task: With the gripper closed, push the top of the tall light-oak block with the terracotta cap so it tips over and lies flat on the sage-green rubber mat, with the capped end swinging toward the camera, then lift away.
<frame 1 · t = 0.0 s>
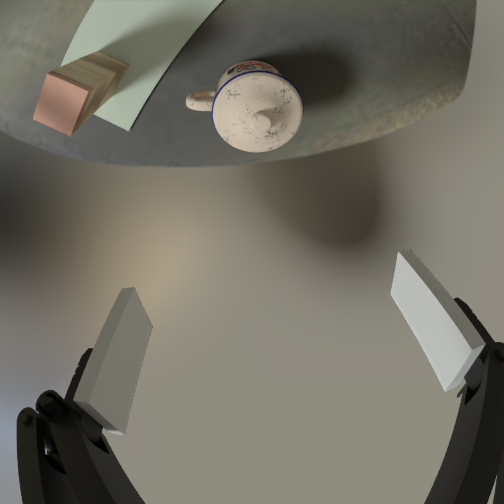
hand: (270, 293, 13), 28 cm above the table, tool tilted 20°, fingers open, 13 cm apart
teacup with lid: (239, 89, 30), on the table
oak block: (105, 73, 25), resting on rubber mat
rubber mat: (133, 27, 21), on the table
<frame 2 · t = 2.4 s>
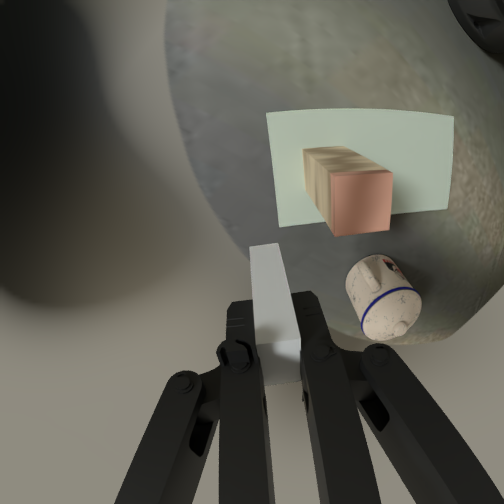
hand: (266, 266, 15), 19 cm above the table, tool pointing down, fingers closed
teacup with lid: (366, 270, 39), on the table
oak block: (324, 167, 30), resting on rubber mat
rubber mat: (376, 163, 31), on the table
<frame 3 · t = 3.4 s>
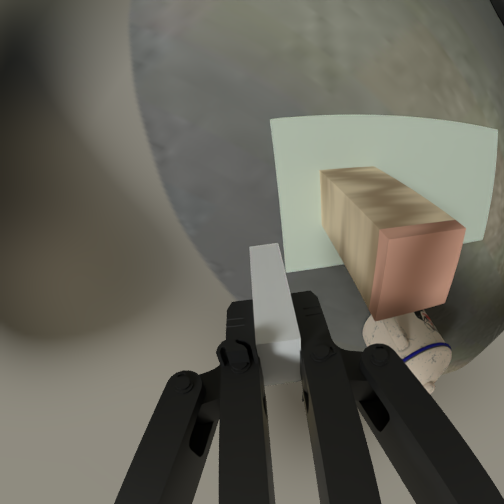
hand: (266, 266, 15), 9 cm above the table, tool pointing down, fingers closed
teacup with lid: (387, 314, 31), on the table
oak block: (348, 195, 22), resting on rubber mat
rubber mat: (411, 189, 23), on the table
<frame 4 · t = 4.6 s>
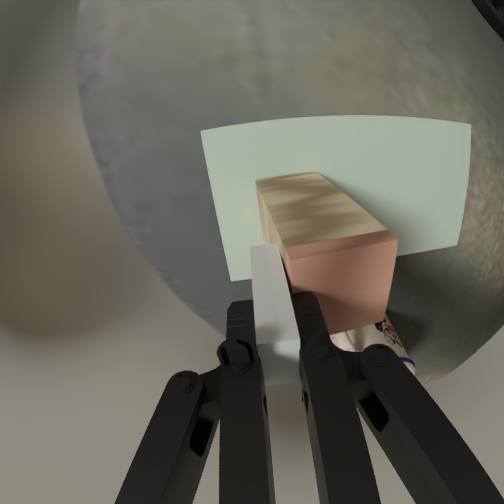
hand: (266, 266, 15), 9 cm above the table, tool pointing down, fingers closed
teacup with lid: (349, 323, 31), on the table
oak block: (288, 204, 22), point 1 cm above the table, touching gripper, rubber mat
rubber mat: (364, 193, 23), on the table
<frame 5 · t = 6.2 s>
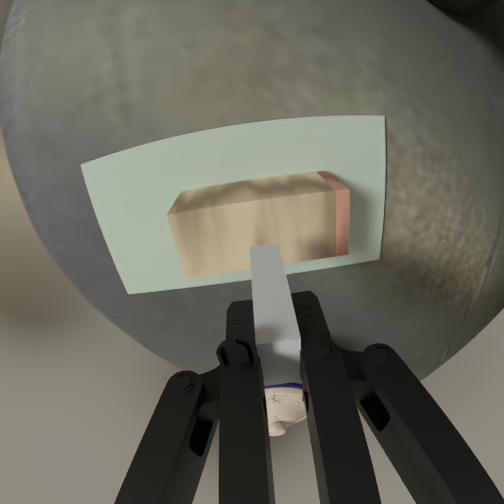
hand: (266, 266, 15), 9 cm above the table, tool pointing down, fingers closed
teacup with lid: (259, 338, 31), on the table
oak block: (182, 232, 21), point 3 cm above the table, tilted 90°, touching rubber mat
rubber mat: (239, 208, 23), on the table
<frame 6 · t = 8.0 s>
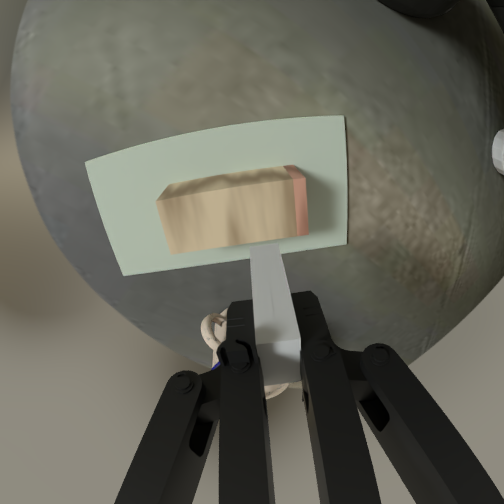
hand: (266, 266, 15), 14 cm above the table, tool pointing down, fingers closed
teacup with lid: (240, 319, 35), on the table
oak block: (169, 217, 24), point 3 cm above the table, tilted 90°, touching rubber mat
white cup: (502, 150, 24), on the table
rubber mat: (218, 198, 27), on the table
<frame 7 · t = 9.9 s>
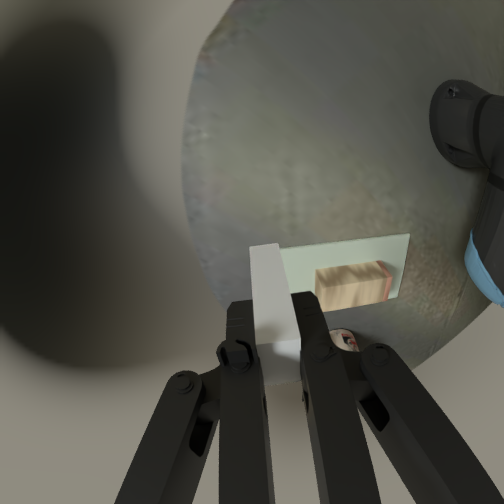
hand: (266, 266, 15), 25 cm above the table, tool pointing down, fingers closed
teacup with lid: (331, 338, 54), on the table
oak block: (318, 290, 44), point 3 cm above the table, tilted 90°, touching rubber mat
rubber mat: (339, 276, 46), on the table
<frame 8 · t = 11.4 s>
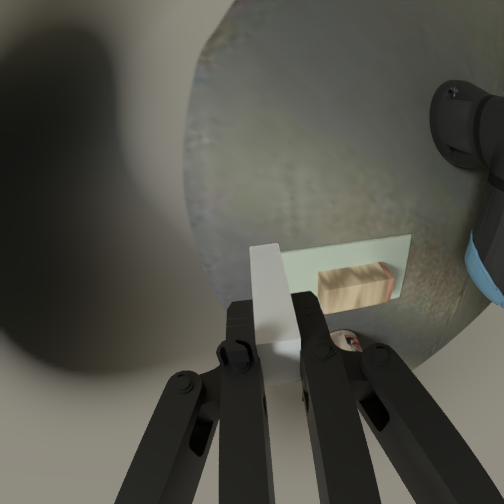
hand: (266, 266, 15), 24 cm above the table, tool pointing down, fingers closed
teacup with lid: (334, 339, 55), on the table
oak block: (321, 292, 44), point 3 cm above the table, tilted 90°, touching rubber mat
rubber mat: (341, 278, 46), on the table
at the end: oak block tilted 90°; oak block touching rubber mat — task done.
